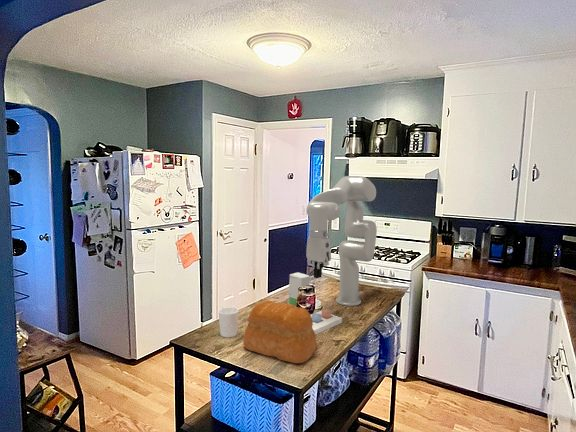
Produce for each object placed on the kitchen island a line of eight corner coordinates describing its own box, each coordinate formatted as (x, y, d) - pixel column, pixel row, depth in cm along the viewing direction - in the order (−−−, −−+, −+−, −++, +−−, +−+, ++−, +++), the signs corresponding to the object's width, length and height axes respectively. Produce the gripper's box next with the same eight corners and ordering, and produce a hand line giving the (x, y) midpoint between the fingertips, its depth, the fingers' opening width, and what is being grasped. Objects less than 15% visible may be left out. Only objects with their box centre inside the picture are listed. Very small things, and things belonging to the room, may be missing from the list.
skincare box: (288, 305, 192) (288, 274, 190) (296, 301, 197) (297, 271, 195) (300, 309, 186) (301, 277, 184) (309, 305, 191) (310, 275, 189)
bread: (301, 368, 131) (301, 319, 129) (239, 349, 144) (238, 305, 142) (320, 349, 145) (321, 305, 143) (262, 334, 158) (262, 293, 156)
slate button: (315, 321, 167) (316, 312, 166) (323, 324, 164) (323, 315, 163) (309, 324, 164) (309, 315, 163) (316, 327, 161) (317, 317, 160)
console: (320, 318, 175) (320, 310, 175) (342, 325, 167) (342, 318, 166) (289, 330, 161) (289, 322, 161) (311, 340, 153) (311, 331, 152)
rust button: (325, 317, 171) (325, 308, 171) (332, 320, 168) (332, 311, 168) (319, 320, 168) (319, 311, 168) (326, 322, 166) (327, 313, 165)
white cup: (230, 328, 163) (230, 305, 162) (242, 334, 157) (242, 310, 156) (215, 334, 157) (214, 310, 156) (226, 340, 152) (226, 315, 151)
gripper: (338, 235, 157) (337, 279, 159) (310, 230, 167) (310, 272, 169) (326, 237, 151) (326, 283, 154) (298, 232, 162) (298, 275, 164)
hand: (317, 277), depth 162 cm, fingers closed
